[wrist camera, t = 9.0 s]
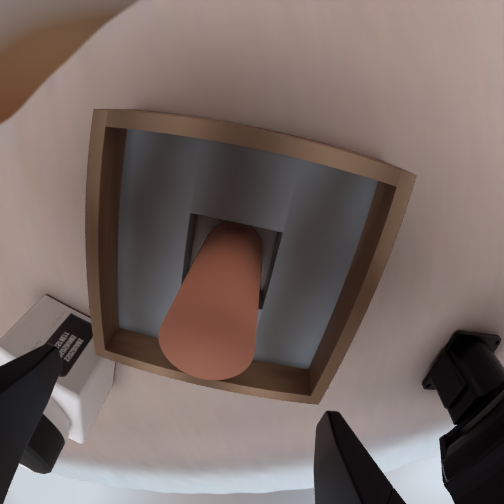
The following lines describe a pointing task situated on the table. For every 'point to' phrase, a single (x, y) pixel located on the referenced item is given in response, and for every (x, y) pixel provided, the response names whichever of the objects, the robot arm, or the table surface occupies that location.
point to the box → (245, 212)
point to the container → (61, 378)
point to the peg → (216, 306)
